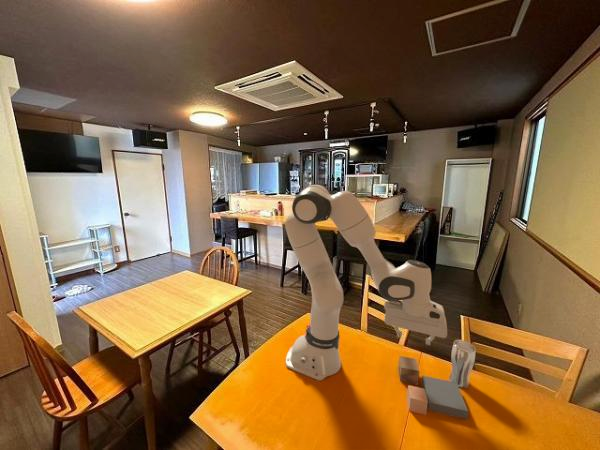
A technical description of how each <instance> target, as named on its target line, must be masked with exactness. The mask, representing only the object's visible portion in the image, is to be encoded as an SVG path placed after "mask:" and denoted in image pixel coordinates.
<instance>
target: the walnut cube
mask: <svg viewBox="0 0 600 450" xmlns="http://www.w3.org/2000/svg"><path fill="white" fill-rule="evenodd" d="M397 367H398V368H397V369H398V376H399V382H403V383H407V384H413V385H416V386H418V385H419V377H420V368H419V364H418V361H417V358H413V357H408V356H404V355H403V356H402V355H399V360H398V366H397Z"/></svg>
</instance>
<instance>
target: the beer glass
mask: <svg viewBox="0 0 600 450" xmlns="http://www.w3.org/2000/svg"><path fill="white" fill-rule="evenodd" d="M476 350H477V349H476V347H475V345H473V344H472V343H471V342H468V341H466V340H463V339H456V340H454V341H453V345H452V349H451V354H450V355H451V358H450V359H451V372H450V374H449V381H451V382H456V383H457V385H458V387H459V389H460V388H461V389H467V388H469V387H470V374H471V372H472V370H473V367H474V365H475V360H476Z"/></svg>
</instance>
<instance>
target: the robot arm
mask: <svg viewBox="0 0 600 450" xmlns="http://www.w3.org/2000/svg"><path fill="white" fill-rule="evenodd" d="M292 201H293V202H292V205H291V206H292V207H291V209H292V210H291V211H292V213H291V214H290V215H288V216H287V218H286V219H285V221H284V228H285V231H286V235H287V238H288V241H289V243H290V246H291V248H292V250H293V252H294V253H293V254H295V257H296V259H297V262H298V264H299V266H300V268H301V269H302V270H303V272H304V274H305V277H306V278H307V280H308V282H309V285H310V286H309V287H310V291H311V309H310V321H309V322H308V323H307V325H306V330H305V332H304V334H303V335H301V336H299V337H297V338H296V340H295V341H294V343H293V345H292V346H291V347H290V348H289V350H288V352H287V354H286V357H285V366H286V368H288V369H290V370H293V371H295V372H298V373H300V374H303V375H304V376H307V377H309V378H312V379H314V380H317V381H323V380H324V379H325V378H326V377H329V376H333V375H335V374H337V373H338V372H339V371H340V370H341V367H342V360H341V356H340V350H339V346H340V339H341V337H340V331H339V323H340V321H339V320H340V312H341V308H342V306H343V304H344V290H343V287H342V284H341V282H340V280H339V278H338V276H337V274H336V271H335V269H334V266H333V264H332V262H331V259H330V257H329V254H328V252H327V250H326V246H325V244H324V242H323V240H322V238H321V235H320V233H319V231H318V228H317V225H316V223H320V222H324V221H325V222H326V221H328V220H329V219H330V220H332V222H333V224H334V225H335V227H336V228H337V230H338V231H339V233H340V235H341V236H342V238H343V239H344V240H345V241H346V243H348V244H349V246H351V247H353V248H357V249H358V250H359V251H360V253H361V255H362V256H363V258H364V259H365V261H366V263H367V265H368V269H369V276H370V279H371V280H372V282H373V283H374V285H375V286H376V288H377V290H378V293H379V294H380V296H381V297H382V298H383V299H384V300H387V301H385V302H384V304H383V305H384V306H383V308H384V310H385V314H384V319H383V320H384V323H385V324H386V325H387V326H391V327H393V329H394V331H395V332H396V337H397V338H400V339H402V335H403V331H401V330H400V329H403V330H408V331H411V332H412V331H413V332H417V333H422V334H423V335H429V337H425V345H426V346H427V345H428V346H431V342H432V341H433V340H435V338H436V337H437V338H442V339H446V338H447V337H448V327H447V318H446V315H445V309H444V307H443V305H441V304H439V303H437V302H435V301H432V300H431V297H430V293H431V291H432V271H431V268H430V267H429V265H427V264H426V263H425V262H422V261H419V260H415V259H407V261H405V263H403V264H402V265H400V266H397V267H396V266H395V265H394V264H393V263H392V262H391V261H389V260H387V259H386V258H385V257H384V255H383V254H382V253H381V250H380V249H379V247H378V246H377V244H376V241H375V236H376V228H375V226H374V223H373V220H372V218H371V217H370V215H369V213H368V212H367V210H366V209H365V206H364V205H363V204H362V203H361V201H360V200H359V199H358V198H357V197H356V196H355V194H354V193H352V192H351V191H349V190H342V191H338V192H336V193H334V194H331V191H330V189H329V188H328V187H327V186H326V185H324V184H321V183H312V184H310V185H308V186H307V187H304V188H302V190H301V191H300V192H299V193H298V194H297V195H296V196H295V197H294V200H292ZM399 301H401V302H399Z"/></svg>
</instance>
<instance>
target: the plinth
mask: <svg viewBox="0 0 600 450" xmlns="http://www.w3.org/2000/svg"><path fill="white" fill-rule="evenodd" d="M421 385H422V387H421V388H423V389H425V393H426V397H427V401H428V404H427V411H432V412H436V413H440V414H444V415H448V416H452V417H456V418H460V419H465V420H468V415H469V409H468V407H467V405H466V402H465V400H464V398H463V394H462V393H461V390H460V387H458V385H457V383H456V382H451V380H446V379H445V380H444V379H441V378H435V377H431V376H426V375H421Z"/></svg>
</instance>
